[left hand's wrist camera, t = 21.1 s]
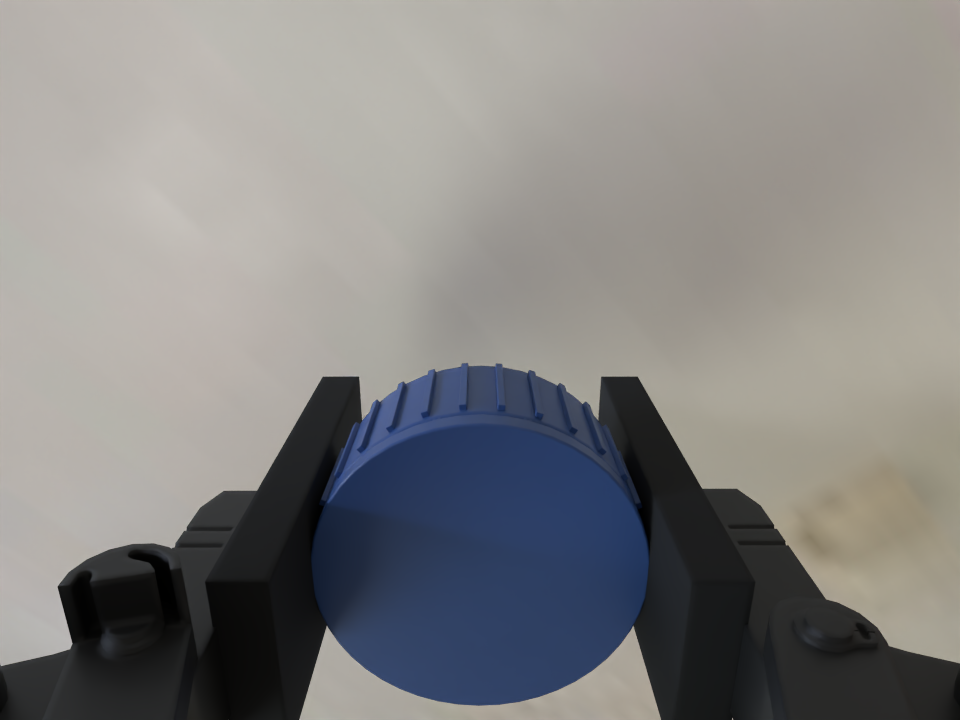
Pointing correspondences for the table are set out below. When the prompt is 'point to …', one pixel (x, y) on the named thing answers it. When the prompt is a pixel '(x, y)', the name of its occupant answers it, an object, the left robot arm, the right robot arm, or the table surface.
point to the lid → (480, 539)
